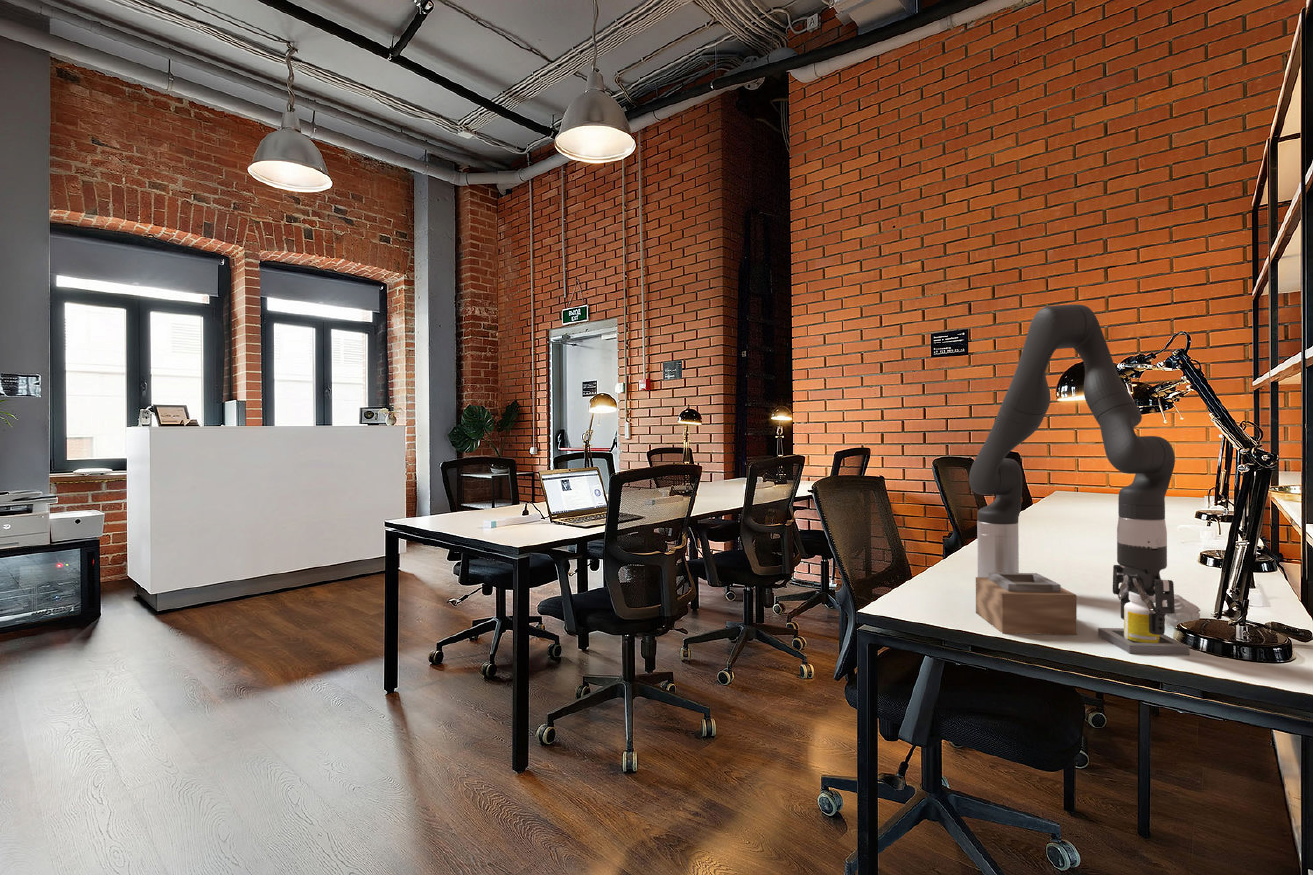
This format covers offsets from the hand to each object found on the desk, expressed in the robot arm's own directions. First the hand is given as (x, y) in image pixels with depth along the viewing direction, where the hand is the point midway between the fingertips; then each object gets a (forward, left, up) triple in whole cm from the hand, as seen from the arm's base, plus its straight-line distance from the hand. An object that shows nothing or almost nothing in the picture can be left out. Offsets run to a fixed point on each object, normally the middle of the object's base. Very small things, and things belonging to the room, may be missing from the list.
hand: (1141, 626), depth 120 cm
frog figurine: (-10, +13, -4) cm, 17 cm away
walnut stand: (-12, -16, -4) cm, 20 cm away
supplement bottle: (0, 0, -4) cm, 4 cm away
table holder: (0, 0, -4) cm, 4 cm away
